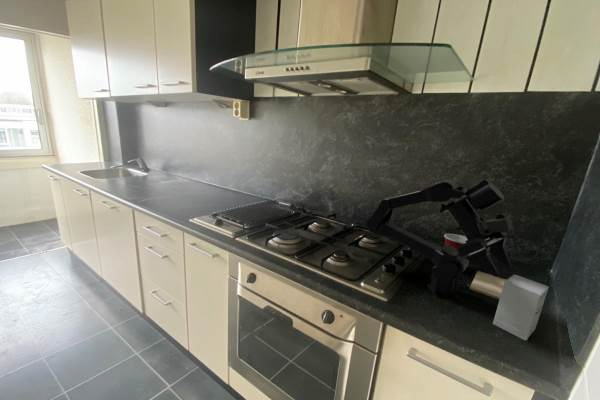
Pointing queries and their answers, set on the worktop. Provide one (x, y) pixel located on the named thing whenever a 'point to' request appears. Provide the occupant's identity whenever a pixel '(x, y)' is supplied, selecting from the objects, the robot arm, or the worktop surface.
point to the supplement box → (520, 306)
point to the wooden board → (488, 284)
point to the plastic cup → (455, 240)
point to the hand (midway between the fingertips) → (503, 271)
